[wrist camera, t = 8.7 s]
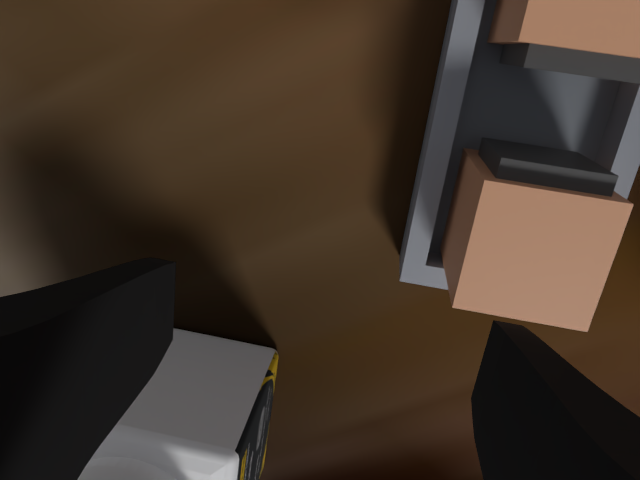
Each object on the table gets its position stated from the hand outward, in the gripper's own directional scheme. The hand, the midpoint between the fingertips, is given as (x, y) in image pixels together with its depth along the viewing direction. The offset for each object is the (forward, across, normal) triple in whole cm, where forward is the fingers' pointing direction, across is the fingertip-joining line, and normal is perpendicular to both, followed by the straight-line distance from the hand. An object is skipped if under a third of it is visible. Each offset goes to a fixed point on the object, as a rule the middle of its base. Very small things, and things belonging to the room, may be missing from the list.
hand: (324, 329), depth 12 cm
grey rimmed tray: (+10, -6, -5) cm, 13 cm away
